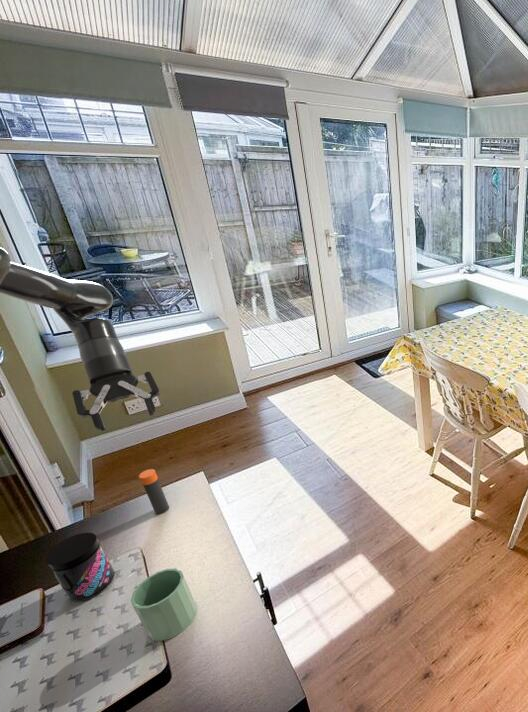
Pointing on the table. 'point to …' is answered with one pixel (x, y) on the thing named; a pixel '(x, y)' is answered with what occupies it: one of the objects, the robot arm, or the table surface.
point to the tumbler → (164, 604)
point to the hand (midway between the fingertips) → (128, 422)
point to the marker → (154, 491)
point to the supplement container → (80, 566)
